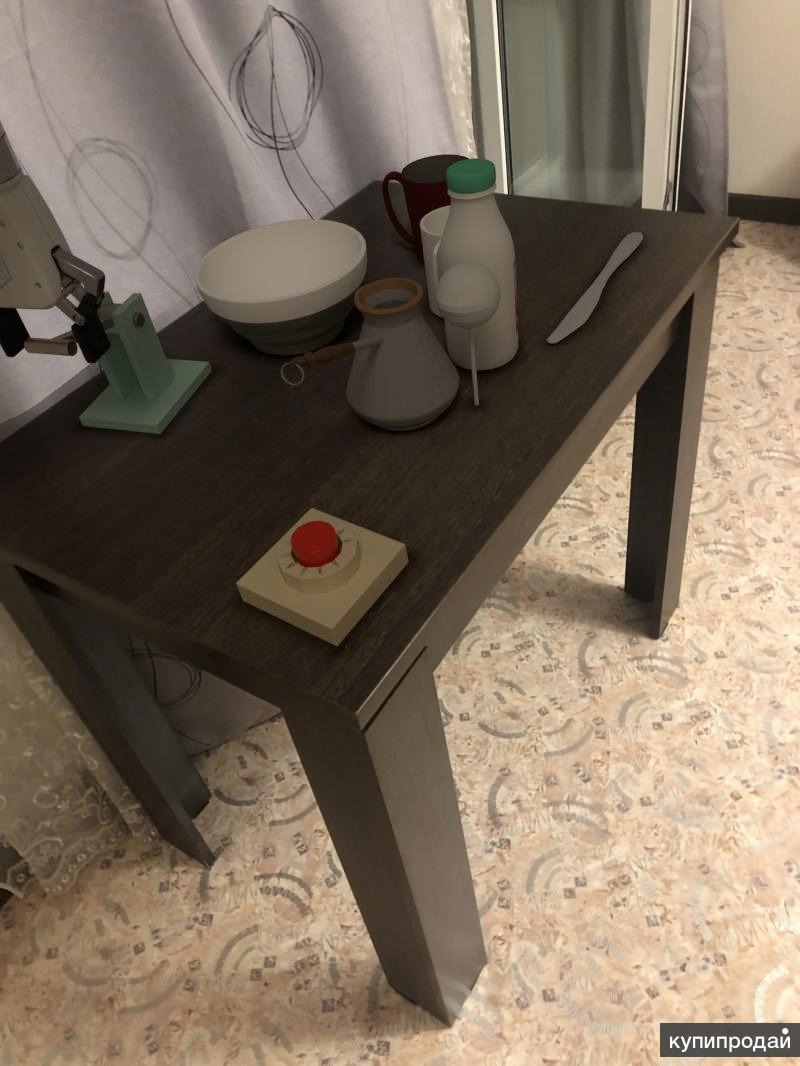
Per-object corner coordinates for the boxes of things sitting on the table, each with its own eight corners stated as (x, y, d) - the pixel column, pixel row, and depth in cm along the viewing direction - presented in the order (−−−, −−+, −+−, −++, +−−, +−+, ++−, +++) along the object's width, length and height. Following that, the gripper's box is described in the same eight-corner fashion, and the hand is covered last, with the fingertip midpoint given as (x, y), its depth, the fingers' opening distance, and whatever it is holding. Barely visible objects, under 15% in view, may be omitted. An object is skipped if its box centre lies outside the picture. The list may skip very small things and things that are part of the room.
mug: (380, 267, 107) (366, 182, 99) (404, 236, 113) (393, 154, 105) (467, 271, 103) (460, 183, 95) (487, 239, 108) (482, 154, 101)
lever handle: (70, 363, 76) (64, 337, 75) (27, 359, 77) (20, 334, 76) (146, 327, 86) (142, 304, 84) (107, 325, 87) (102, 302, 86)
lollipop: (488, 427, 80) (478, 287, 69) (436, 414, 82) (419, 277, 72) (516, 393, 83) (510, 253, 73) (465, 381, 86) (452, 245, 75)
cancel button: (321, 574, 63) (316, 558, 62) (286, 558, 65) (281, 543, 64) (348, 544, 65) (344, 529, 64) (314, 530, 67) (309, 515, 66)
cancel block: (337, 647, 63) (327, 613, 60) (242, 600, 67) (229, 568, 65) (408, 562, 68) (402, 528, 65) (316, 525, 73) (307, 492, 70)
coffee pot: (386, 368, 89) (363, 237, 79) (480, 387, 84) (470, 250, 74) (273, 489, 77) (230, 353, 67) (377, 520, 72) (347, 378, 62)
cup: (408, 333, 94) (396, 251, 87) (442, 282, 102) (434, 202, 95) (475, 339, 91) (469, 255, 84) (506, 286, 99) (502, 205, 92)
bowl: (288, 280, 108) (271, 209, 101) (410, 308, 98) (400, 231, 92) (184, 356, 97) (157, 282, 90) (310, 395, 88) (290, 316, 81)
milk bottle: (515, 372, 86) (508, 180, 72) (443, 373, 87) (422, 185, 73) (521, 333, 91) (515, 147, 77) (453, 334, 93) (435, 153, 79)
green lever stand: (160, 434, 86) (119, 336, 78) (82, 426, 89) (35, 331, 81) (212, 370, 94) (179, 275, 86) (139, 365, 97) (101, 272, 89)
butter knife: (653, 233, 102) (630, 228, 103) (565, 346, 87) (539, 339, 89) (652, 237, 103) (629, 233, 104) (565, 350, 88) (539, 344, 89)
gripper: (-145, 187, 66) (-37, 368, 78) (27, 186, 61) (113, 381, 73) (-80, 151, 71) (11, 327, 83) (83, 148, 66) (156, 336, 77)
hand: (59, 352), depth 78 cm, fingers open, 8 cm apart
